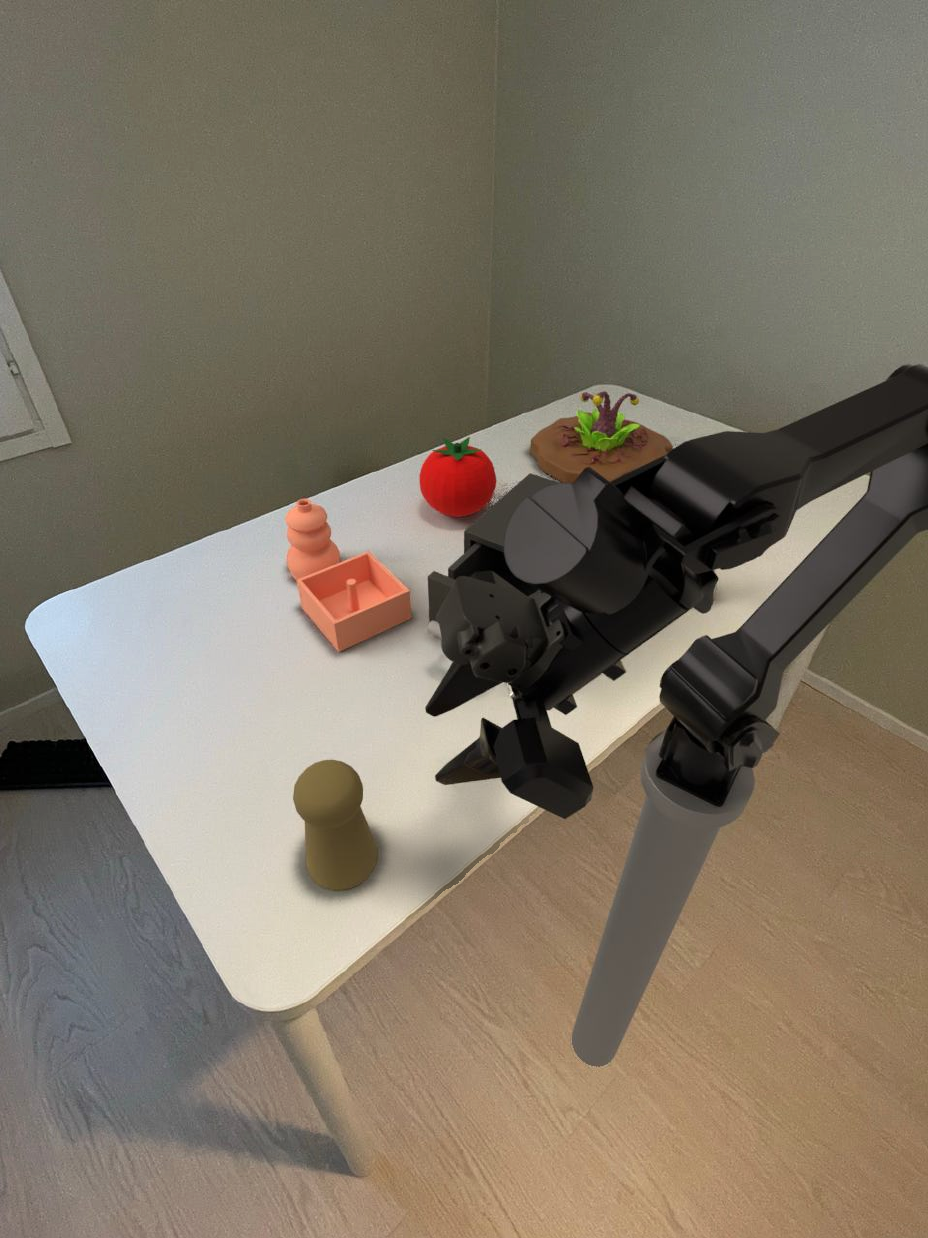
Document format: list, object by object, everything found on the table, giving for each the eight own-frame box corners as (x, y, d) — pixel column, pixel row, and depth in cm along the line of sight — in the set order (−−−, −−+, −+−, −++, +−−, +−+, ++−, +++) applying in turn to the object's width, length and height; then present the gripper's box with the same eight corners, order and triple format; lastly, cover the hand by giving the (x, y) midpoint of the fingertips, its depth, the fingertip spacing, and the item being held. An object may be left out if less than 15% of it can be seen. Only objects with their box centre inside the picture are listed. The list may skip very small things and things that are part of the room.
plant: (507, 454, 109) (510, 385, 102) (588, 416, 119) (596, 350, 112) (608, 507, 99) (621, 434, 91) (688, 460, 109) (705, 390, 101)
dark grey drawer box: (566, 642, 79) (576, 574, 72) (463, 598, 84) (463, 530, 78) (621, 573, 88) (634, 507, 81) (524, 537, 93) (529, 472, 87)
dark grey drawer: (507, 703, 71) (511, 647, 65) (406, 653, 76) (402, 598, 71) (585, 606, 82) (594, 551, 76) (493, 568, 87) (495, 514, 82)
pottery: (411, 618, 81) (407, 550, 75) (338, 652, 77) (327, 582, 71) (337, 543, 92) (327, 477, 86) (270, 569, 88) (254, 502, 82)
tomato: (504, 525, 95) (507, 459, 89) (429, 536, 94) (426, 469, 87) (484, 485, 103) (485, 421, 96) (413, 494, 101) (410, 430, 94)
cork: (291, 874, 58) (267, 799, 51) (328, 815, 62) (311, 737, 55) (356, 901, 56) (341, 827, 49) (390, 838, 61) (380, 761, 53)
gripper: (490, 471, 47) (343, 610, 54) (559, 671, 34) (351, 826, 40) (589, 555, 54) (447, 670, 60) (681, 752, 40) (484, 876, 46)
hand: (434, 745), depth 51 cm, fingers open, 6 cm apart
